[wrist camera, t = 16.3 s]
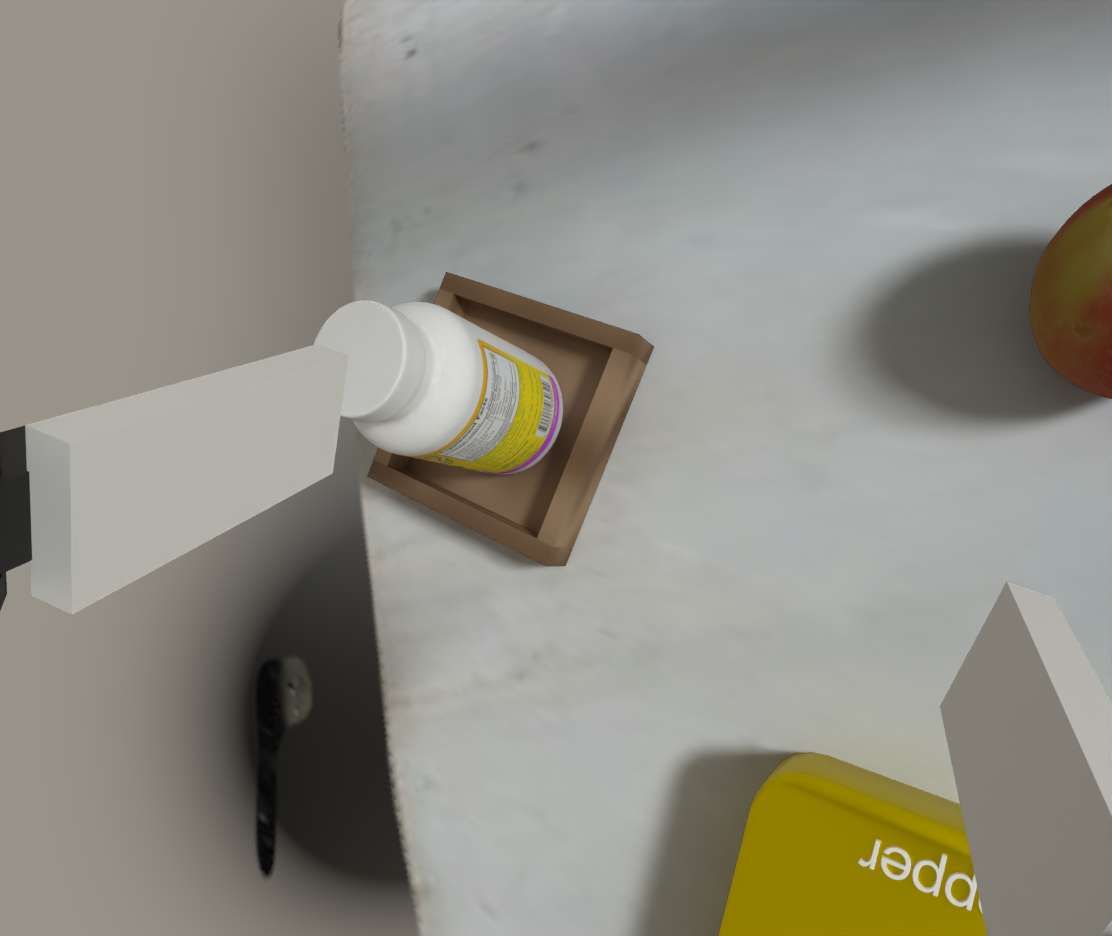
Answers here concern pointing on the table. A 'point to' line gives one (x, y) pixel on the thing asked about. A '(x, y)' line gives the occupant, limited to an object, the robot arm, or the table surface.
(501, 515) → the walnut tray
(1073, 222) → the apple
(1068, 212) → the table surface
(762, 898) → the element tile
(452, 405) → the supplement bottle
